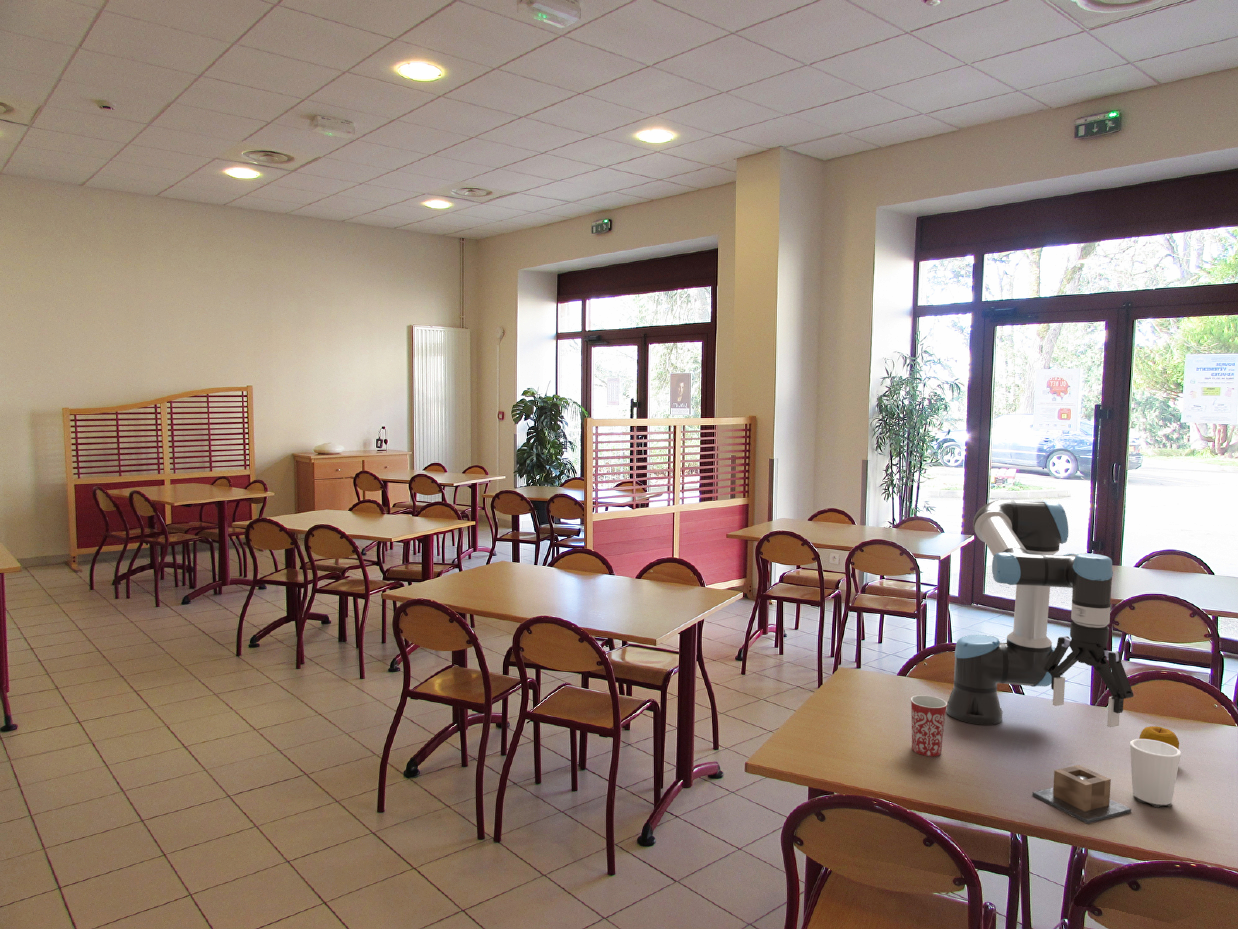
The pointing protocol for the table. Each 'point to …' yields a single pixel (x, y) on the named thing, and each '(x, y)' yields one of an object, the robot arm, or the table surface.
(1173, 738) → the apple
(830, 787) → the table surface
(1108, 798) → the collar
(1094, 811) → the peg base
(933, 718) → the mug
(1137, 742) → the cup
